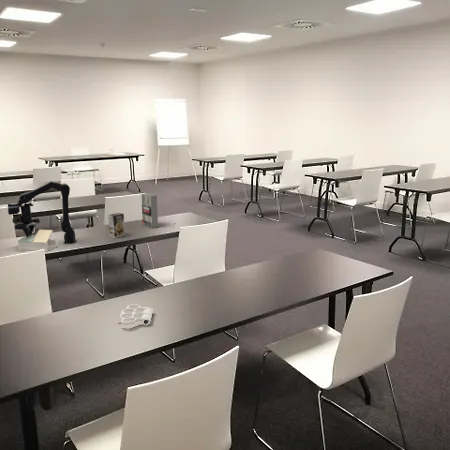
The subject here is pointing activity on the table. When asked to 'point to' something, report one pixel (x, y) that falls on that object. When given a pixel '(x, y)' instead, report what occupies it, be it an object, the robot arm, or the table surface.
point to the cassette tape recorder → (149, 210)
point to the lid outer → (27, 239)
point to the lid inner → (42, 236)
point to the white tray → (37, 245)
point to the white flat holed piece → (145, 314)
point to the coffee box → (116, 225)
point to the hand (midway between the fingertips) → (28, 236)
